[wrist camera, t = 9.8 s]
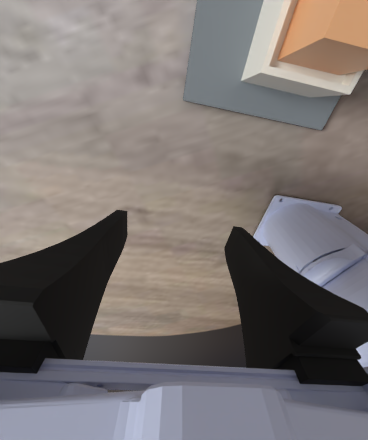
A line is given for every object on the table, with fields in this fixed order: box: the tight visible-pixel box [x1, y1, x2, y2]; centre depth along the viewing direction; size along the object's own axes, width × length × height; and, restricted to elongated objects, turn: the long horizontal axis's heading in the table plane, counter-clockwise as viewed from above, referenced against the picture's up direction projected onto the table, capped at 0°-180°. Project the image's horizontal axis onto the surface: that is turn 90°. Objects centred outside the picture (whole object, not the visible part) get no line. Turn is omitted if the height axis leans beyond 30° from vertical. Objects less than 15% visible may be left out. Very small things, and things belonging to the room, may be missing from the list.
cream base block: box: [241, 0, 364, 98], centre depth 11 cm, size 7×7×4 cm
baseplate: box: [183, 0, 341, 130], centre depth 14 cm, size 14×9×1 cm, turn 80°
